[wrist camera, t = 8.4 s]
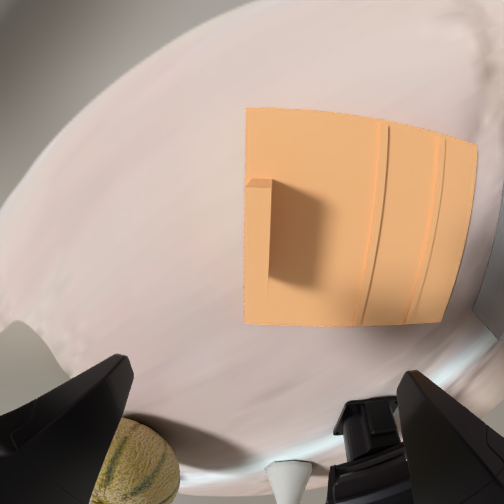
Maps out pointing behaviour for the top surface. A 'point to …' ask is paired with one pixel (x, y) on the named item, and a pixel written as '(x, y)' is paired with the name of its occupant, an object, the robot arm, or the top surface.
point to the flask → (288, 480)
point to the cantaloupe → (137, 468)
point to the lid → (351, 219)
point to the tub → (494, 285)
